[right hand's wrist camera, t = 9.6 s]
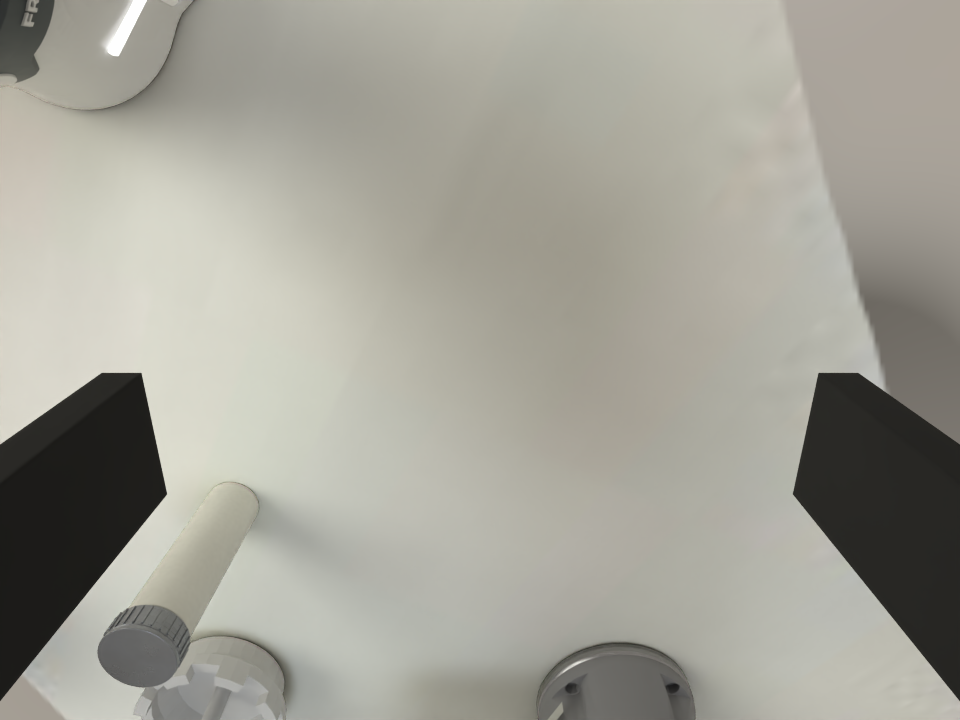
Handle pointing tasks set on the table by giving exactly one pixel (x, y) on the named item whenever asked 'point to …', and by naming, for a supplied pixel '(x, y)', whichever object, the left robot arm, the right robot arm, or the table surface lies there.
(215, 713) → the flag stand
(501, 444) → the table surface
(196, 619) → the jar
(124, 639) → the lid
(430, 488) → the table surface
